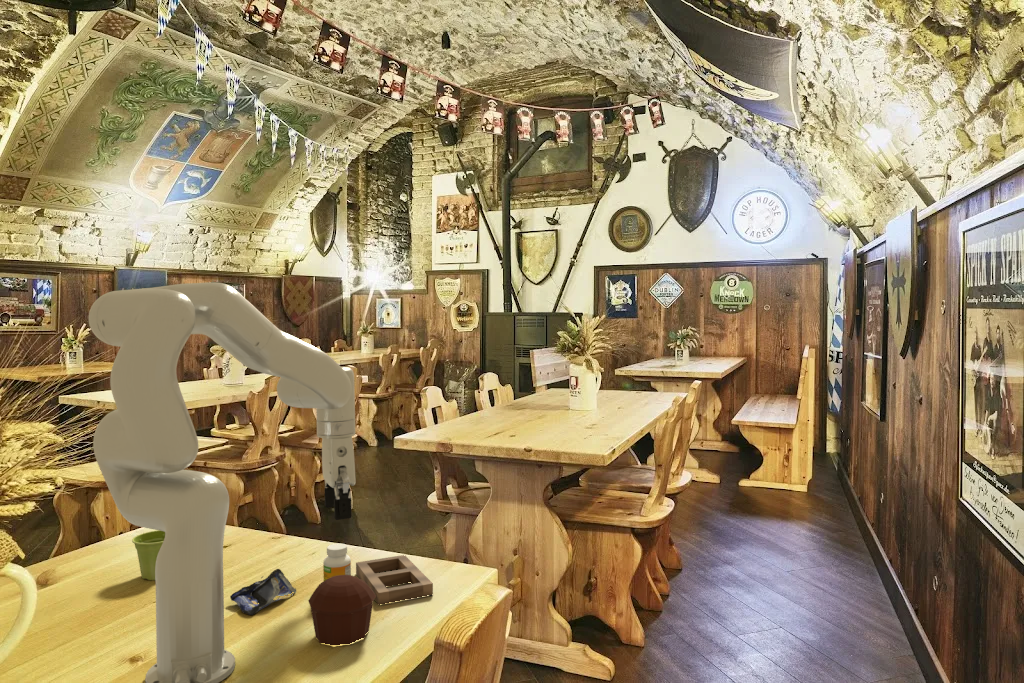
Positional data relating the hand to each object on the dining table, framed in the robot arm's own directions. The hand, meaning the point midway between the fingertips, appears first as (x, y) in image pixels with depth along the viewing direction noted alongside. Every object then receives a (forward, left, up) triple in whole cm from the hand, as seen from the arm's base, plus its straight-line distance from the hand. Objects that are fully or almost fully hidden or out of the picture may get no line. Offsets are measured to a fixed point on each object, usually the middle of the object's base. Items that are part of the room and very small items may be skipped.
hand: (337, 512), depth 137 cm
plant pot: (+28, +33, -17) cm, 46 cm away
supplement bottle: (0, 0, -17) cm, 17 cm away
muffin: (-19, +3, -17) cm, 26 cm away
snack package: (+2, +14, -17) cm, 22 cm away
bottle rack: (0, -11, -17) cm, 20 cm away
